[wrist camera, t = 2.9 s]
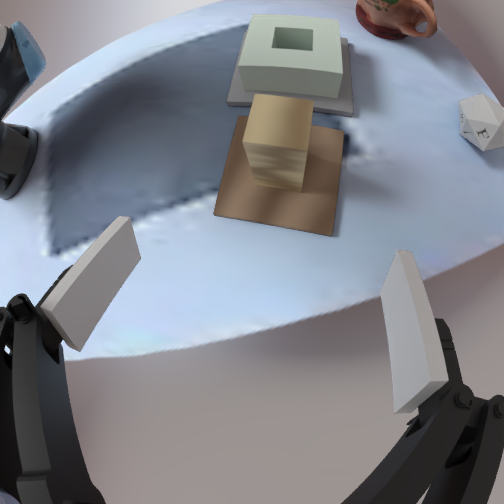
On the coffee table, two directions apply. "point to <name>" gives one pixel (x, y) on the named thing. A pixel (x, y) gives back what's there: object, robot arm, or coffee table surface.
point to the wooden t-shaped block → (282, 168)
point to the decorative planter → (396, 17)
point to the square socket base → (294, 63)
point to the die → (482, 122)
